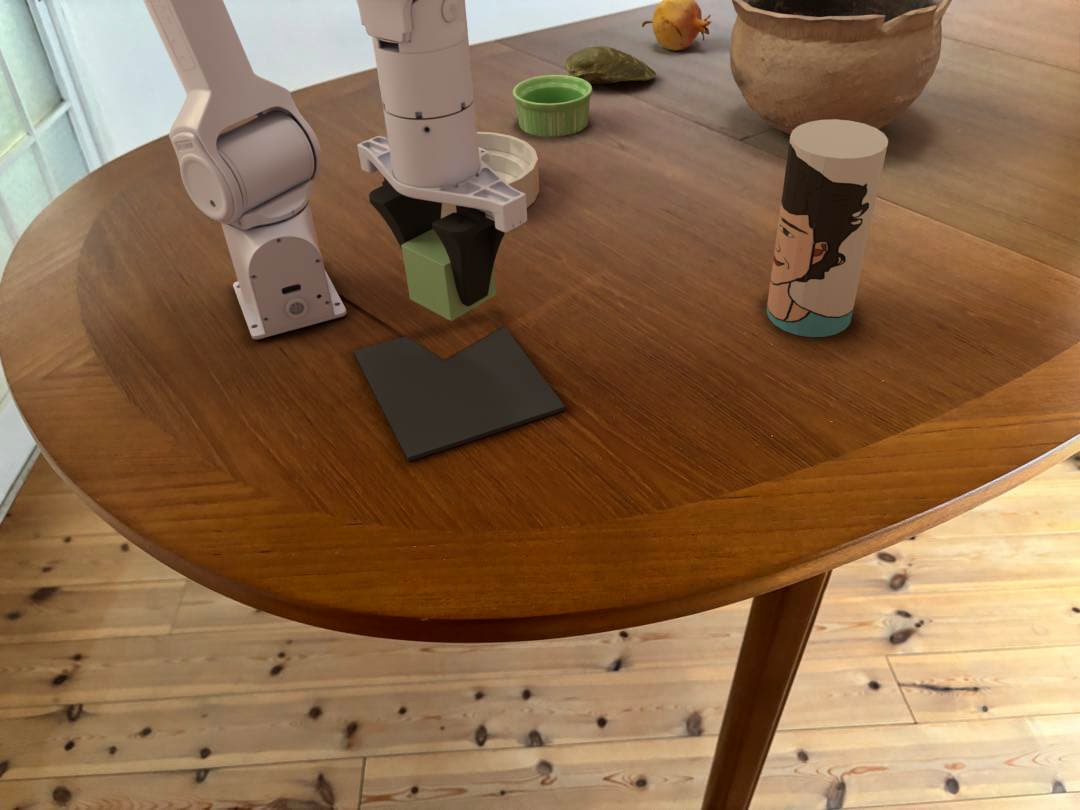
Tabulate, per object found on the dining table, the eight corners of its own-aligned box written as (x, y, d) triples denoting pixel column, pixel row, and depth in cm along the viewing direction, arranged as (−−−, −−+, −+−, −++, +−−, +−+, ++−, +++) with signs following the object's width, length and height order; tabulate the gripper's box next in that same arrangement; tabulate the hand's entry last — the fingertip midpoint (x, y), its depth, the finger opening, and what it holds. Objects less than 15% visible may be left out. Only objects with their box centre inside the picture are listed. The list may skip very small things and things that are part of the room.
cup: (797, 282, 78) (824, 112, 69) (867, 312, 75) (906, 136, 65) (749, 314, 75) (771, 140, 66) (820, 347, 71) (854, 167, 62)
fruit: (629, 6, 121) (698, 15, 117) (653, -21, 124) (721, -13, 120) (635, 53, 127) (701, 63, 122) (658, 26, 130) (723, 35, 125)
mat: (565, 410, 67) (565, 406, 66) (408, 461, 63) (407, 457, 63) (493, 315, 77) (492, 311, 76) (354, 354, 73) (353, 350, 73)
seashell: (670, 62, 116) (628, 16, 108) (649, 116, 115) (605, 73, 108) (608, 62, 122) (565, 18, 115) (588, 112, 122) (543, 72, 114)
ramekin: (512, 114, 110) (510, 77, 107) (587, 108, 110) (586, 71, 107) (517, 145, 103) (515, 106, 100) (597, 138, 103) (597, 100, 100)
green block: (496, 294, 66) (492, 239, 64) (451, 321, 64) (444, 265, 61) (455, 274, 69) (448, 220, 66) (409, 299, 67) (400, 244, 64)
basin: (561, 209, 90) (560, 172, 88) (427, 244, 86) (422, 205, 84) (507, 157, 100) (504, 121, 98) (384, 185, 96) (378, 149, 94)
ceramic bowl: (843, 188, 91) (871, 33, 82) (679, 128, 104) (687, -12, 95) (960, 122, 102) (997, -21, 93) (799, 75, 115) (816, -55, 106)
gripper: (557, 109, 55) (563, 298, 64) (403, 59, 63) (427, 234, 72) (472, 148, 52) (491, 343, 60) (319, 90, 60) (355, 270, 68)
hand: (451, 287), depth 66 cm, fingers closed on green block, 4 cm apart
